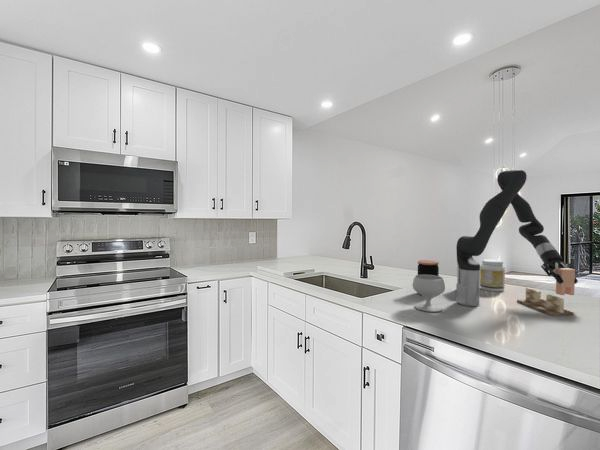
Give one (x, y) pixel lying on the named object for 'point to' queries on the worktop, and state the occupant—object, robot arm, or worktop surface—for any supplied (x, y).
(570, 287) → the slotted upright
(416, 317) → the worktop surface
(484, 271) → the supplement tub
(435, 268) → the coffee jar
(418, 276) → the chalice
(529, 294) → the ridged rail
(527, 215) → the robot arm
